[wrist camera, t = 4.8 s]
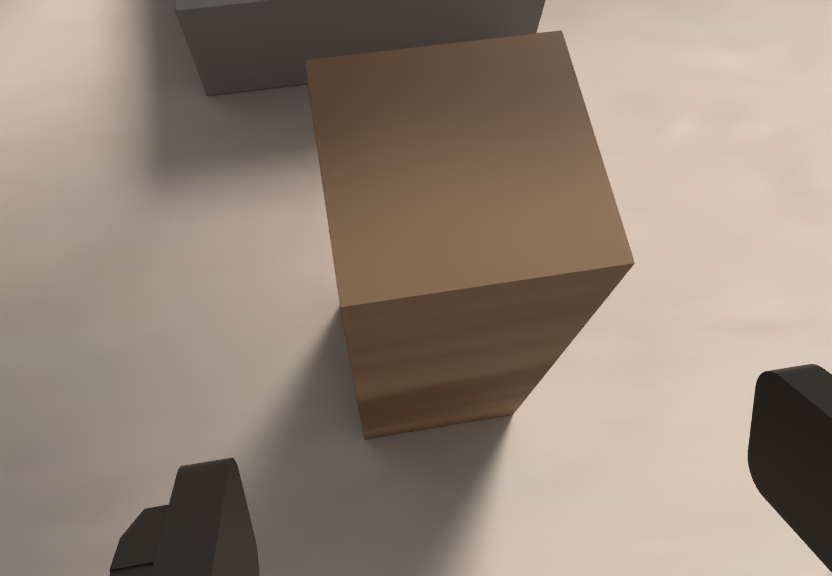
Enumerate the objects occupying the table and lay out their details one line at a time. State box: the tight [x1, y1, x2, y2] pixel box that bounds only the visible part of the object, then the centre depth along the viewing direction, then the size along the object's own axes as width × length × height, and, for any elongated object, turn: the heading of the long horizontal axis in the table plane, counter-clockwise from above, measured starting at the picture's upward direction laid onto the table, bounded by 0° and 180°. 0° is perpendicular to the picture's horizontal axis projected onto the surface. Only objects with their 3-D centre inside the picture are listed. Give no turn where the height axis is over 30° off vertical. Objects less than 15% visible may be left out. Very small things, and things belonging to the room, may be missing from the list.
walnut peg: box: [305, 31, 635, 440], centre depth 16 cm, size 4×4×11 cm
